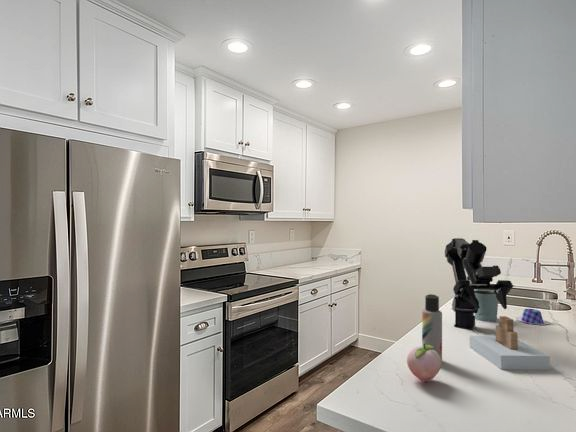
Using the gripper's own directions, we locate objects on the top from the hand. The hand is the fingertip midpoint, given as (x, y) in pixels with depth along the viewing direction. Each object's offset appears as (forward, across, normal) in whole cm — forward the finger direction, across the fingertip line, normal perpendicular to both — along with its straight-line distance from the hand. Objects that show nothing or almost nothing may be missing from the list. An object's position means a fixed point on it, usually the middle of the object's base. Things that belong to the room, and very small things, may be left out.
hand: (492, 308), depth 119 cm
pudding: (-14, +36, +34) cm, 51 cm away
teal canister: (-16, +18, +35) cm, 42 cm away
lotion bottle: (+17, -25, +2) cm, 30 cm away
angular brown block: (+15, 0, +4) cm, 16 cm away
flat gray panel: (+15, 0, +4) cm, 16 cm away
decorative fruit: (+27, -33, -8) cm, 43 cm away
